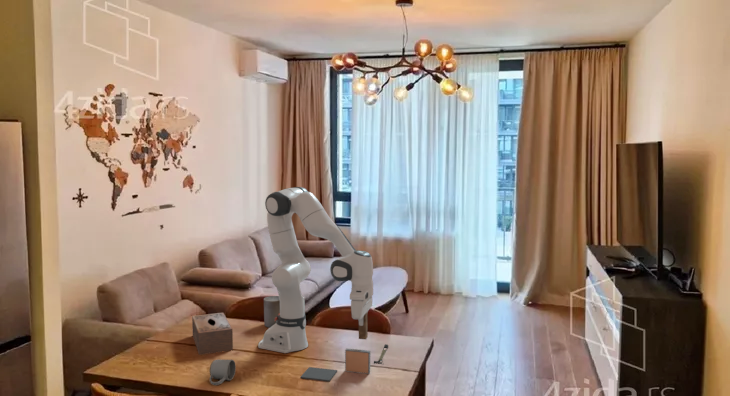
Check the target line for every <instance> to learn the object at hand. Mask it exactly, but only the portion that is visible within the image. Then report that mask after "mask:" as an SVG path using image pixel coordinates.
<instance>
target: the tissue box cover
mask: <svg viewBox="0 0 730 396" xmlns="http://www.w3.org/2000/svg"><path fill="white" fill-rule="evenodd" d="M191 320H192V321H191V323H192V324H191V325H192V338H193V341H194V344H195V346H196V350H197V353H198V355H199V356H200V355H201V356H202V355H208V354H215V353H216V352H217V353H222V351H224V352H230V351H229V350H232V351H233V350H234V343H233V341H234V338H233V336H234V335H233V327H232V326H231V323H230V322H229V320H228V318H227V317H226V315H225V313H224V312H217V313H208V314H197V315H192V318H191Z"/></svg>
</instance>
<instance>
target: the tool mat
mask: <svg viewBox="0 0 730 396" xmlns="http://www.w3.org/2000/svg"><path fill="white" fill-rule="evenodd" d="M337 373H338V370H337V369H330V368H320V367H311V366H308V367H307V369H306V370H305V371H304V372H303V373H302V374H301V376H300V379H303V380H304V379H305V380H312V381H319V382H320V381H322V382H328V383H329V382H331V380H332V379H333V378H334V377H335V375H336V374H337Z"/></svg>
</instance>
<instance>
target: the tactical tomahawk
mask: <svg viewBox="0 0 730 396" xmlns="http://www.w3.org/2000/svg"><path fill="white" fill-rule="evenodd" d="M388 347H389V345H388V344H384V346H383V349H382V351H381V353H380V356H379V358H378V360H374V361H373V364H375V363H376V364H377V363H378V364H379V365H383V364H382V362H383V359H384V356H385V354H386V352H387V350H384V348H387V349H388ZM380 361H382V362H380Z"/></svg>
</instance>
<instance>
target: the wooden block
mask: <svg viewBox="0 0 730 396" xmlns="http://www.w3.org/2000/svg"><path fill="white" fill-rule="evenodd" d="M363 321H364V325H363V326H360V325H359V324H358V340H367V338H368V336H369V333H368V330H369V329H368V313H366V314H365V315H364V317H363Z"/></svg>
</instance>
